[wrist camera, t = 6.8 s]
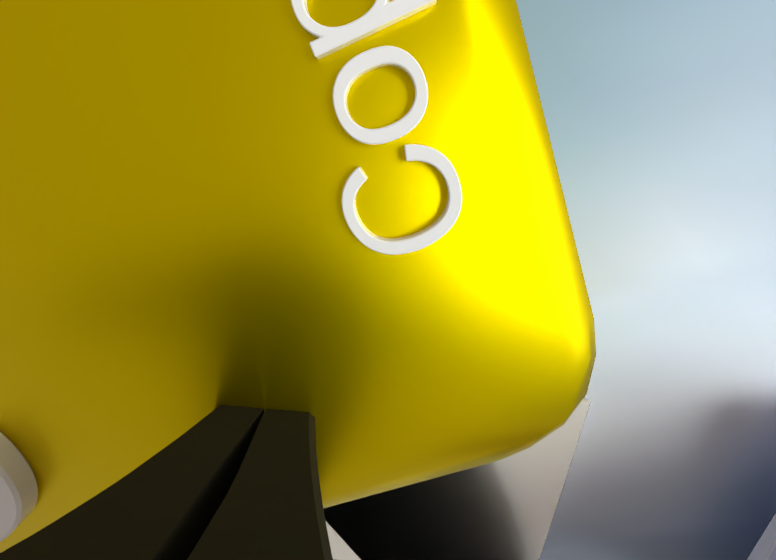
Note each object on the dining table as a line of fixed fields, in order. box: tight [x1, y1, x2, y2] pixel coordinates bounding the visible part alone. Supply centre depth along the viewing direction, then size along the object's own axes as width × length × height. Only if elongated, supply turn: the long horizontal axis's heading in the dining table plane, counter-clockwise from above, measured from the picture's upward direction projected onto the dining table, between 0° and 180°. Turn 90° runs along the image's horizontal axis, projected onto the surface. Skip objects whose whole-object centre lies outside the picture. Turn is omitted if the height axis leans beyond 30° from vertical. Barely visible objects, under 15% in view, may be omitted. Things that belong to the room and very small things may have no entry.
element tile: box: [0, 0, 596, 553], centre depth 7 cm, size 15×15×5 cm
